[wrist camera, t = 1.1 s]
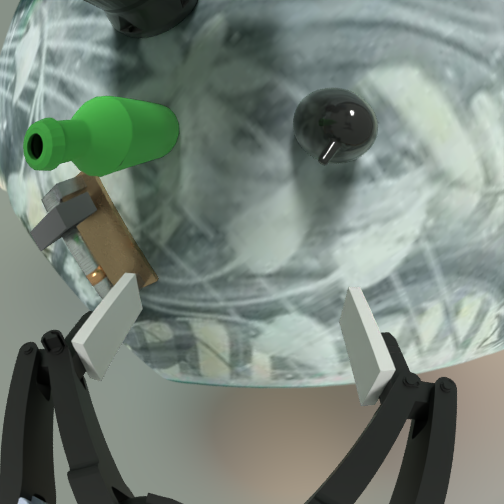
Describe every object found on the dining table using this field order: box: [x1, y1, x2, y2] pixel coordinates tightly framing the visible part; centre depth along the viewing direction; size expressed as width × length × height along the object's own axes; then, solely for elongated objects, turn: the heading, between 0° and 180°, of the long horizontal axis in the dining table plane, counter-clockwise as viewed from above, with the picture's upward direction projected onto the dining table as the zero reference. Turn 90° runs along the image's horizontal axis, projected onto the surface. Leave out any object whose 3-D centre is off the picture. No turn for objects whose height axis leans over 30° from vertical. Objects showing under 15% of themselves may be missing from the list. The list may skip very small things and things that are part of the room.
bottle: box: [23, 96, 179, 177], centre depth 26 cm, size 9×9×25 cm
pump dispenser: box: [293, 88, 378, 165], centre depth 29 cm, size 10×10×15 cm
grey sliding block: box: [30, 192, 97, 251], centre depth 36 cm, size 4×8×8 cm, turn 116°
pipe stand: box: [42, 171, 159, 299], centre depth 41 cm, size 24×10×10 cm, turn 26°
